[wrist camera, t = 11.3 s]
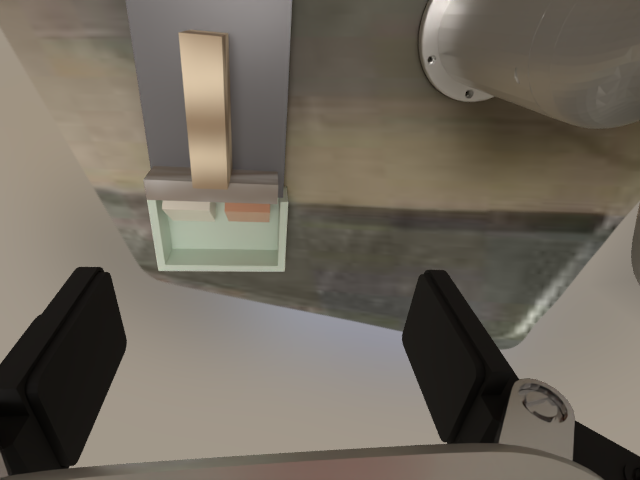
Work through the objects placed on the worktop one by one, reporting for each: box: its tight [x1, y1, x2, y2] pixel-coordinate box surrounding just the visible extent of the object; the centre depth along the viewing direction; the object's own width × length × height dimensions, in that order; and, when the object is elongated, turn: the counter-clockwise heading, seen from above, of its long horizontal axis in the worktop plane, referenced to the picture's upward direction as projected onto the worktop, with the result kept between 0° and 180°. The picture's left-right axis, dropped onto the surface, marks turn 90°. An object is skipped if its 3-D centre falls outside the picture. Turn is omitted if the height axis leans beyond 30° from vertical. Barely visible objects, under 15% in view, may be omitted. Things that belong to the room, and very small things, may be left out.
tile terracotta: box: [225, 203, 270, 222], centre depth 40 cm, size 4×4×2 cm
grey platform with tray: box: [126, 0, 292, 272], centre depth 35 cm, size 36×14×4 cm, turn 175°
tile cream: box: [162, 200, 216, 222], centre depth 39 cm, size 4×4×2 cm
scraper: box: [143, 30, 278, 204], centre depth 32 cm, size 14×12×5 cm
